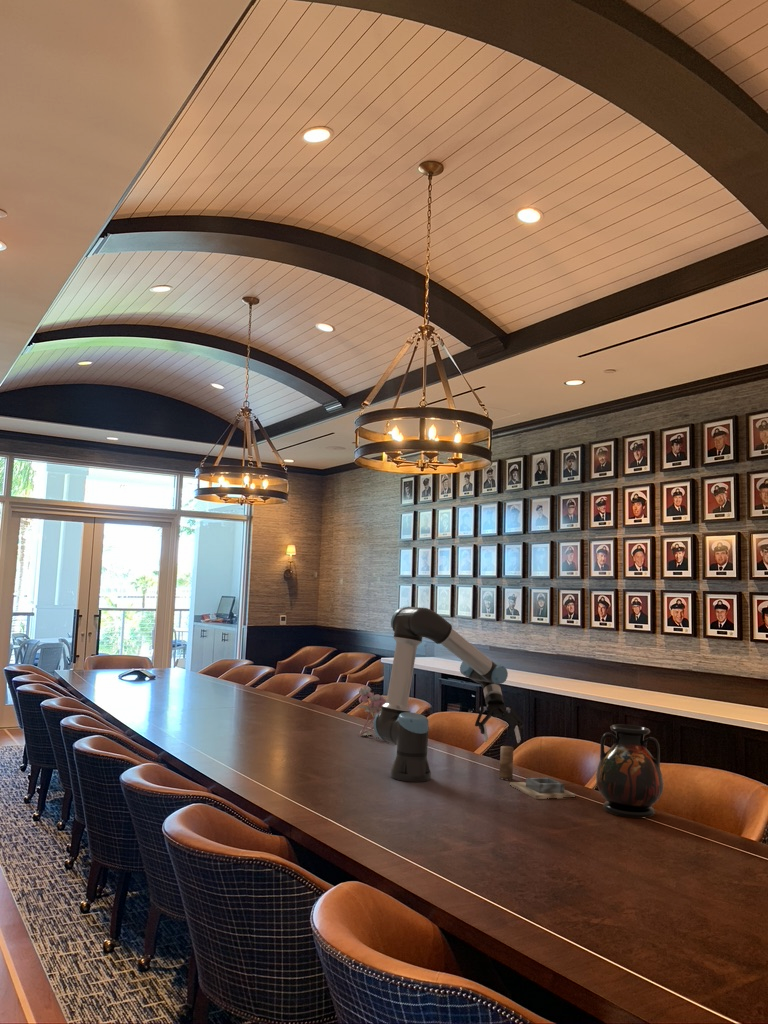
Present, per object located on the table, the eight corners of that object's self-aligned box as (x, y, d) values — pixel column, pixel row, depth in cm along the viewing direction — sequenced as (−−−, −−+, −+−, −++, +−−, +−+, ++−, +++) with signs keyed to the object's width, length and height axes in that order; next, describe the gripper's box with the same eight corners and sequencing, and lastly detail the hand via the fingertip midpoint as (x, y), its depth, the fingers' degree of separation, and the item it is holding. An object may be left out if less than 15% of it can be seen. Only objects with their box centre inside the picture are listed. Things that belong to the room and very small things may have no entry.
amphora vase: (591, 815, 253) (593, 727, 257) (599, 801, 273) (600, 720, 277) (661, 825, 245) (662, 734, 249) (664, 810, 265) (664, 726, 269)
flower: (378, 739, 366) (397, 690, 376) (340, 728, 378) (359, 681, 389) (396, 753, 380) (414, 705, 391) (359, 742, 393) (377, 696, 403)
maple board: (535, 798, 271) (536, 786, 272) (509, 785, 290) (509, 774, 291) (575, 798, 276) (576, 785, 277) (547, 784, 295) (547, 773, 296)
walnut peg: (503, 780, 299) (504, 748, 300) (497, 777, 304) (498, 745, 305) (514, 780, 300) (515, 748, 302) (508, 777, 305) (509, 745, 307)
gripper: (519, 704, 333) (530, 746, 316) (463, 702, 329) (470, 745, 313) (524, 693, 328) (535, 735, 312) (466, 691, 325) (474, 734, 308)
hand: (502, 740), depth 312 cm, fingers open, 13 cm apart
